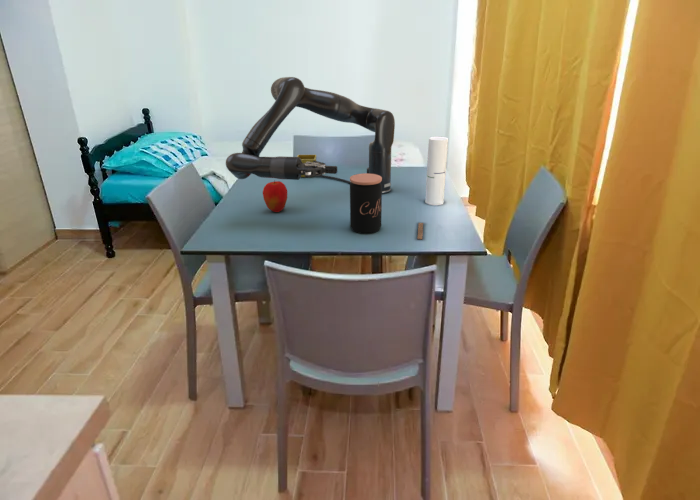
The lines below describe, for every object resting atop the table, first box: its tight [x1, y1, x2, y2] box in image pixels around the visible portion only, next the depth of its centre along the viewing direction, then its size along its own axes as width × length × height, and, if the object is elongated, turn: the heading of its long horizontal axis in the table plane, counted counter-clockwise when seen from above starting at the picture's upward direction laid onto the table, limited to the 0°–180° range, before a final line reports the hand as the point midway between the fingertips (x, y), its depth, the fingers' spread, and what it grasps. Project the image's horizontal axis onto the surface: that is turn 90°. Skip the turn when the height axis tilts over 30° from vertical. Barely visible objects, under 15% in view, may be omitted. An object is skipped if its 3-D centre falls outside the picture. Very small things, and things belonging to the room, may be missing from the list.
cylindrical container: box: [424, 135, 449, 206], centre depth 187 cm, size 7×7×25 cm
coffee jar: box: [349, 172, 383, 235], centre depth 164 cm, size 11×11×18 cm
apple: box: [262, 180, 288, 213], centre depth 183 cm, size 9×9×12 cm
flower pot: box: [296, 154, 317, 178], centre depth 226 cm, size 9×9×9 cm
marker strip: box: [416, 222, 424, 241], centre depth 165 cm, size 2×14×1 cm, turn 171°
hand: (336, 169), depth 161 cm, fingers closed
